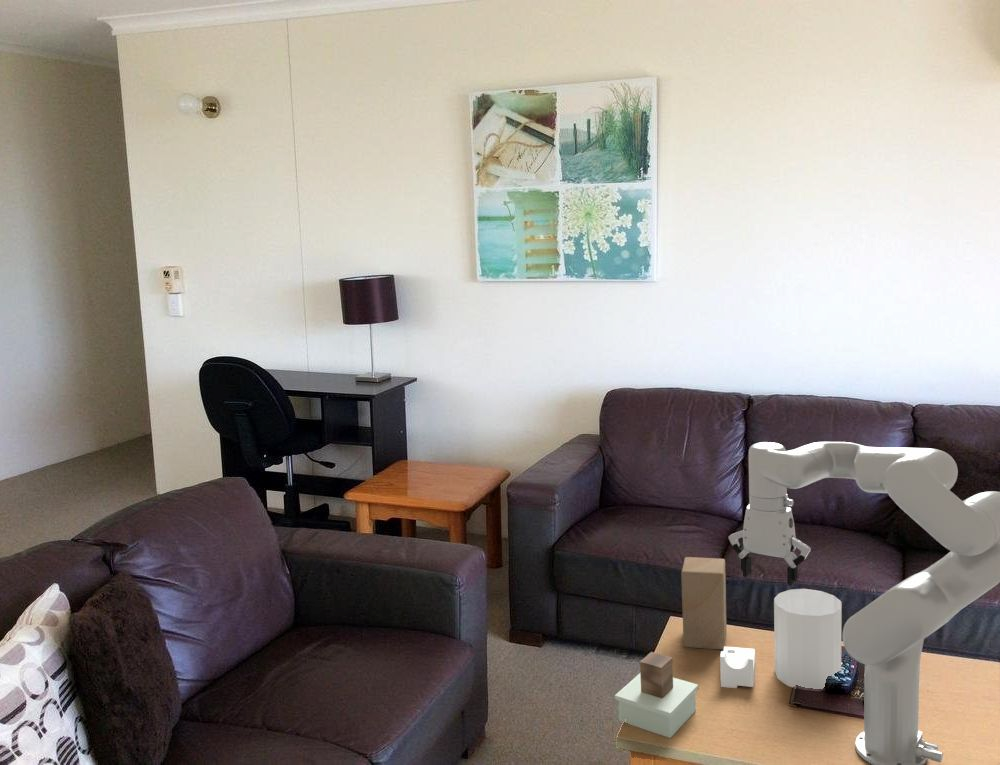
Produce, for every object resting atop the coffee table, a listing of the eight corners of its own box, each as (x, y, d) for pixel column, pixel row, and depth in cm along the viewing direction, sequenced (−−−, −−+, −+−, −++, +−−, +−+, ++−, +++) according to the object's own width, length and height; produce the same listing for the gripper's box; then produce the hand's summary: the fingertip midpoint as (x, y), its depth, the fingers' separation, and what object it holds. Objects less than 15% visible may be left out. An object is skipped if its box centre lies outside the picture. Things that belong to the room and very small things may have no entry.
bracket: (753, 690, 194) (752, 659, 193) (720, 687, 196) (720, 656, 195) (755, 662, 206) (754, 633, 205) (724, 660, 208) (723, 630, 207)
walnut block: (673, 687, 186) (672, 657, 184) (662, 698, 182) (661, 667, 180) (652, 681, 189) (651, 651, 187) (641, 692, 185) (640, 661, 184)
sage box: (698, 710, 187) (698, 684, 186) (671, 740, 177) (670, 713, 176) (645, 693, 195) (644, 669, 194) (615, 721, 185) (614, 695, 184)
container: (797, 696, 190) (796, 620, 187) (762, 666, 204) (761, 594, 201) (855, 685, 194) (855, 609, 190) (817, 655, 207) (817, 584, 204)
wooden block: (683, 647, 215) (681, 571, 212) (686, 629, 225) (684, 556, 221) (724, 650, 212) (723, 573, 209) (726, 632, 222) (725, 558, 218)
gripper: (815, 502, 179) (816, 580, 182) (735, 491, 189) (737, 565, 192) (803, 512, 173) (804, 593, 176) (721, 501, 184) (723, 577, 186)
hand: (769, 579), depth 184 cm, fingers open, 9 cm apart
